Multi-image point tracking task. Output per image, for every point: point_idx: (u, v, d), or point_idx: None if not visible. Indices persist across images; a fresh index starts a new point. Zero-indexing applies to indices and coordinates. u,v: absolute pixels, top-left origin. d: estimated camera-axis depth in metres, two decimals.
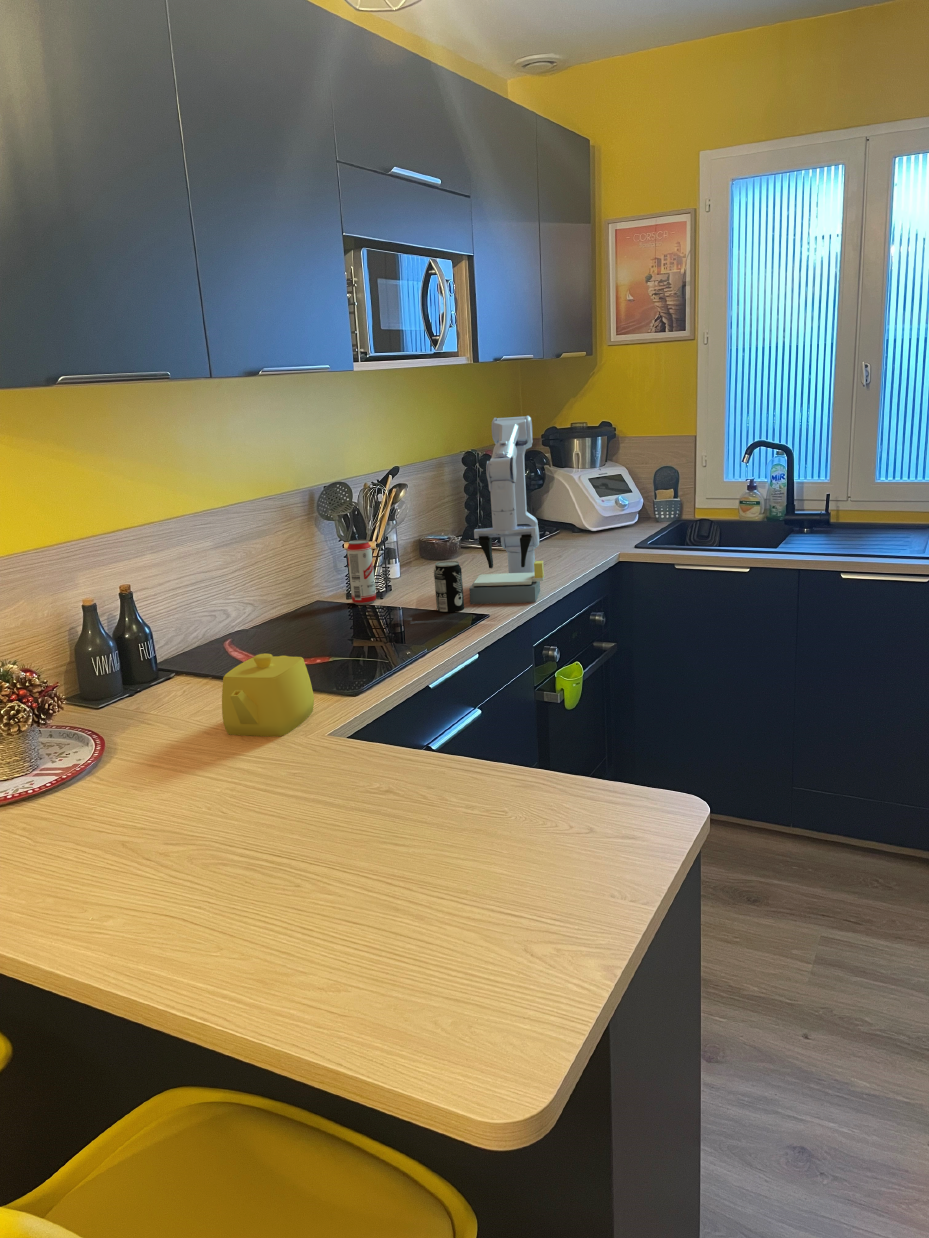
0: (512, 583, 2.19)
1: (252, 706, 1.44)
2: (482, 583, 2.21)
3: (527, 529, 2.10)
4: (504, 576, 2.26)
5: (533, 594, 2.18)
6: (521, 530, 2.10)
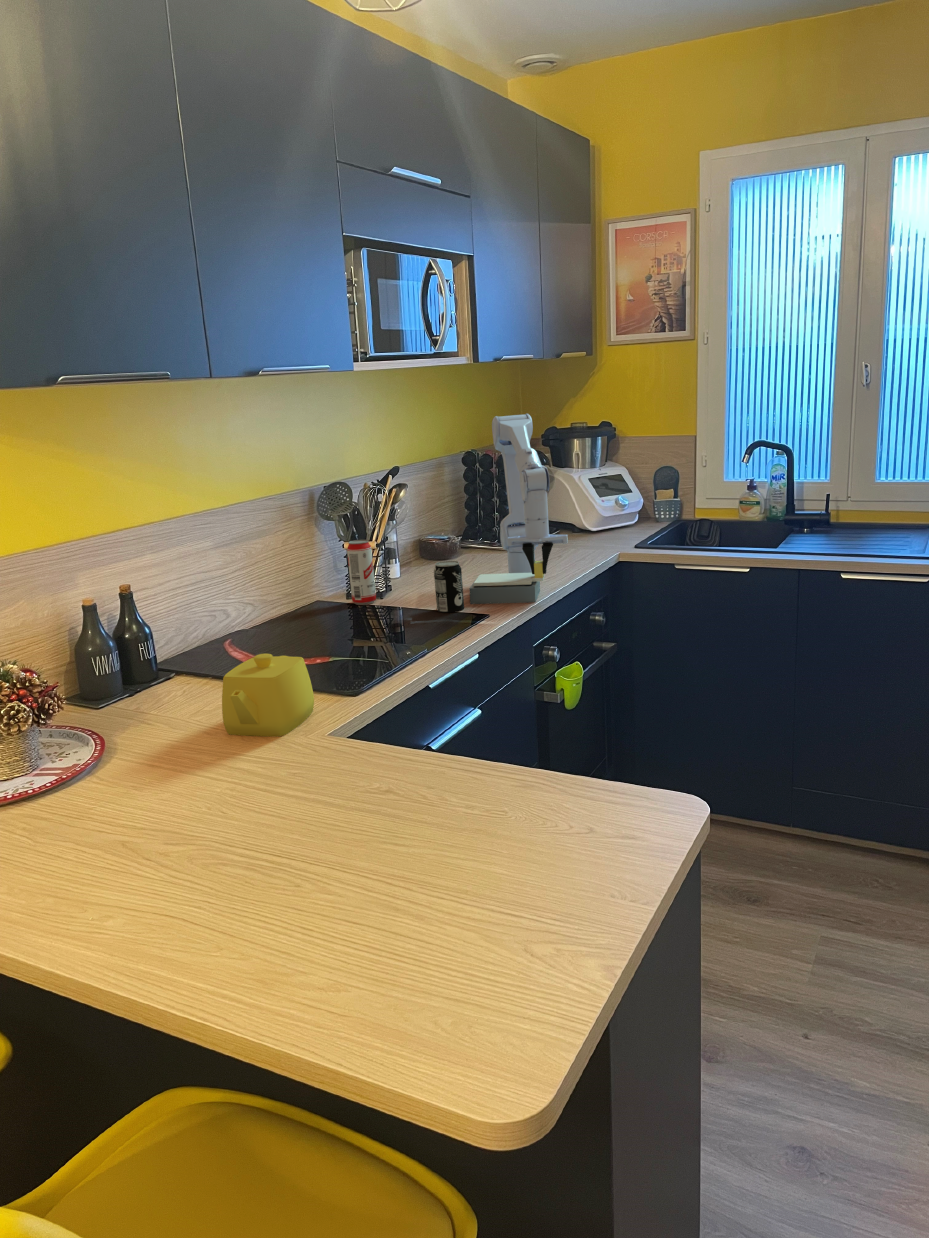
0: (512, 583, 2.19)
1: (252, 706, 1.44)
2: (482, 583, 2.21)
3: (559, 537, 2.18)
4: (504, 576, 2.26)
5: (533, 594, 2.18)
6: (553, 538, 2.18)
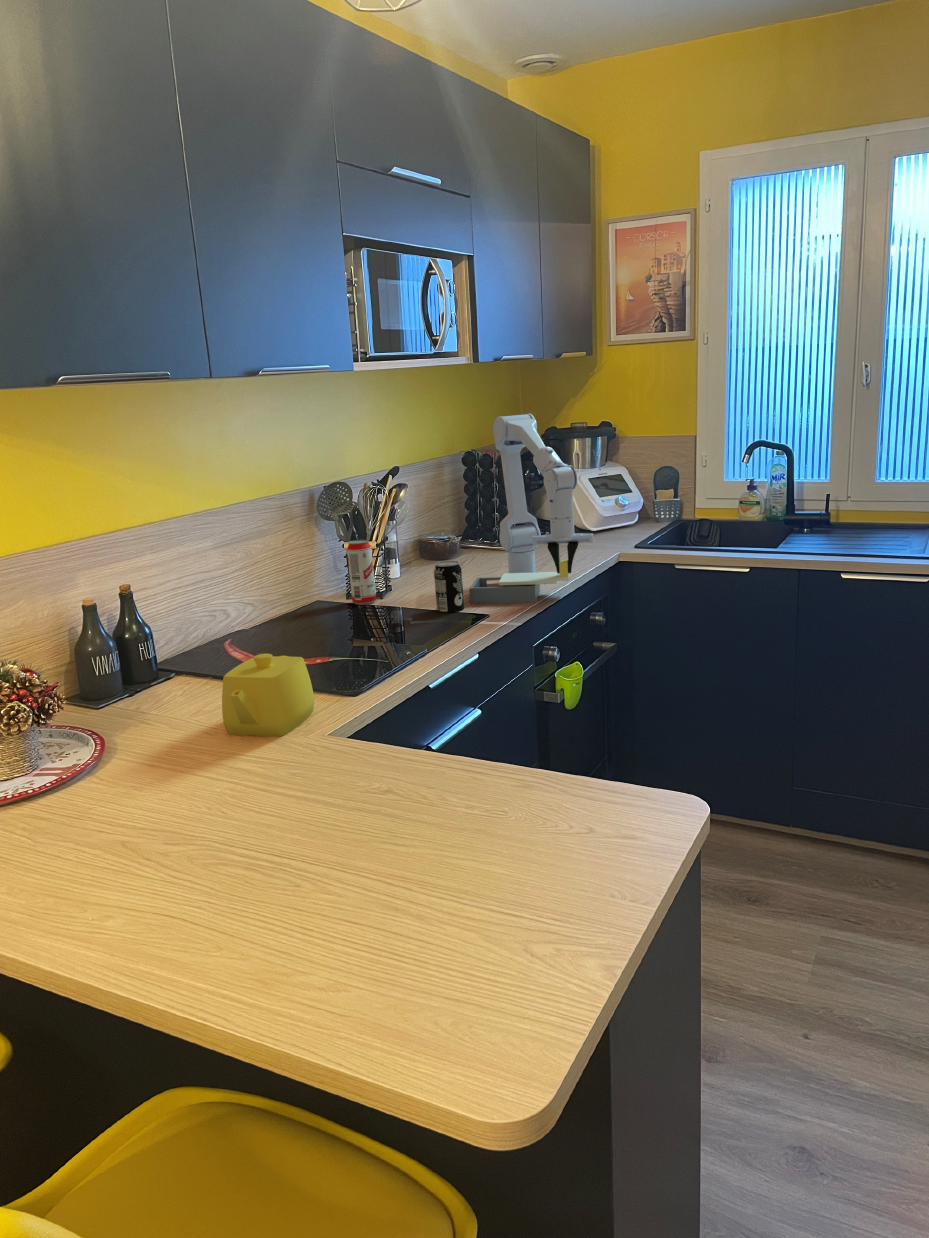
0: (537, 582, 2.18)
1: (252, 706, 1.44)
2: (507, 582, 2.20)
3: (585, 536, 2.17)
4: (528, 575, 2.25)
5: (533, 594, 2.18)
6: (579, 537, 2.17)
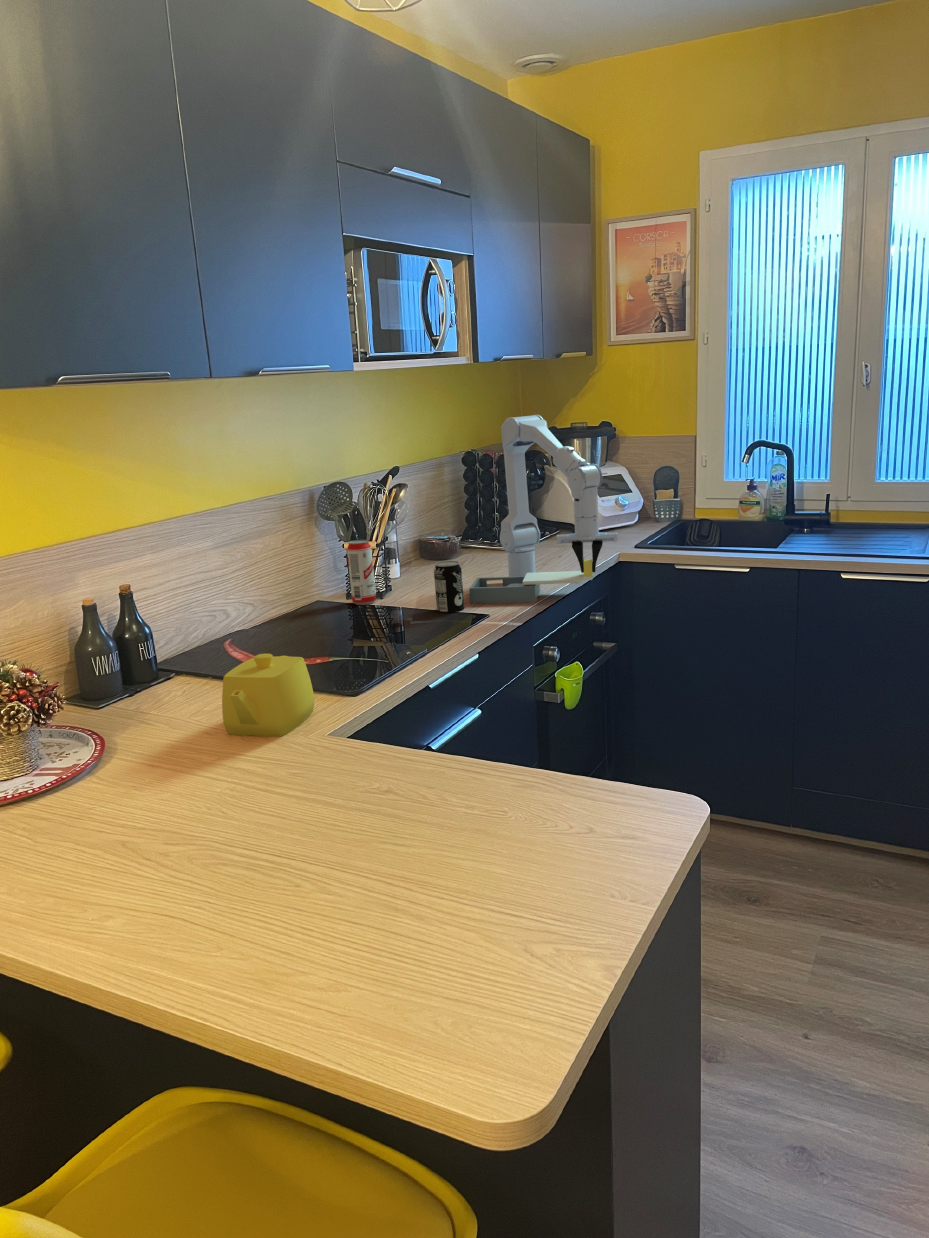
0: (562, 581, 2.17)
1: (252, 706, 1.44)
2: (531, 581, 2.18)
3: (609, 535, 2.16)
4: (552, 574, 2.23)
5: (533, 594, 2.18)
6: (603, 536, 2.16)
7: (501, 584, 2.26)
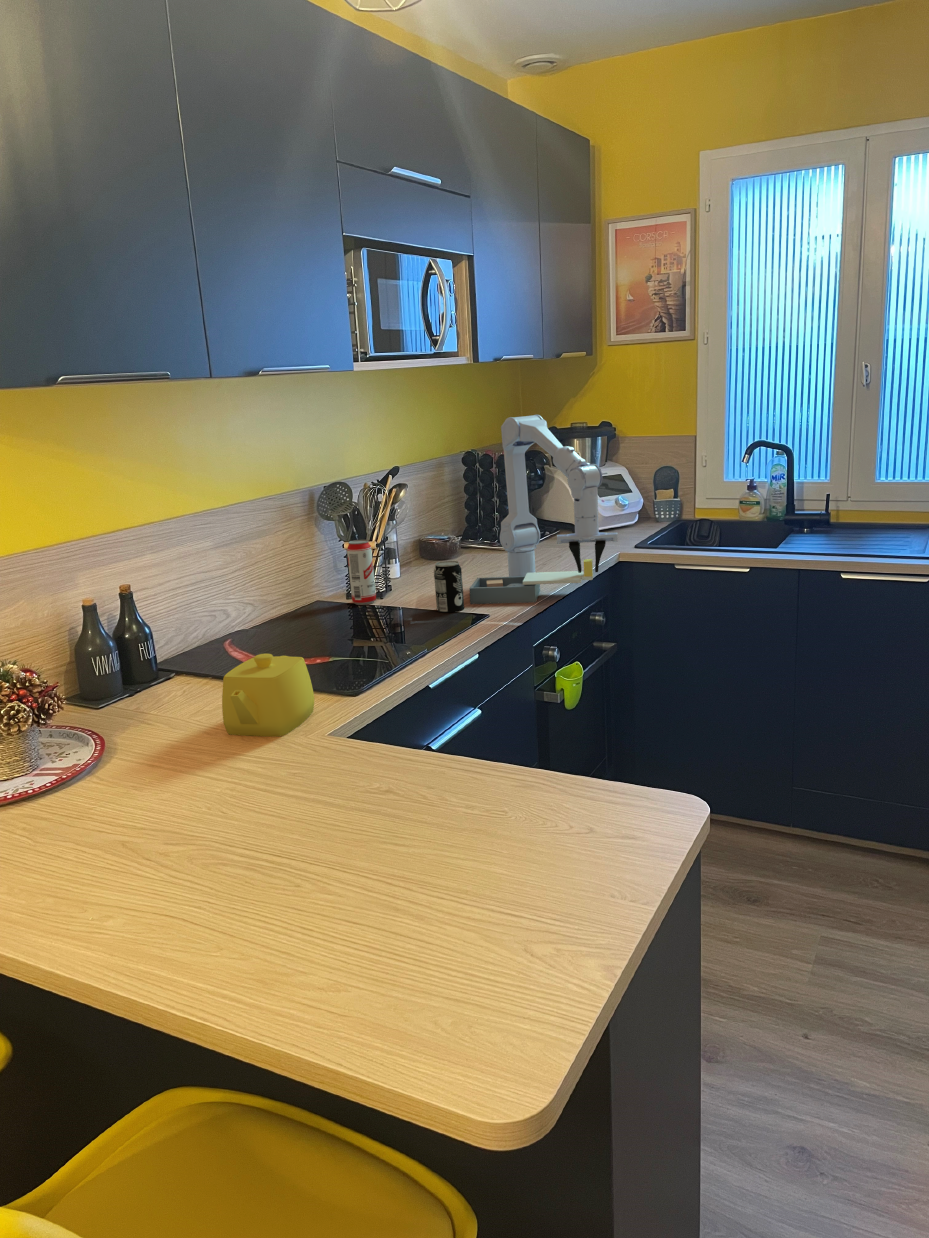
0: (562, 581, 2.17)
1: (252, 706, 1.44)
2: (531, 581, 2.18)
3: (609, 535, 2.16)
4: (552, 574, 2.23)
5: (533, 594, 2.18)
6: (604, 536, 2.16)
7: (501, 584, 2.26)
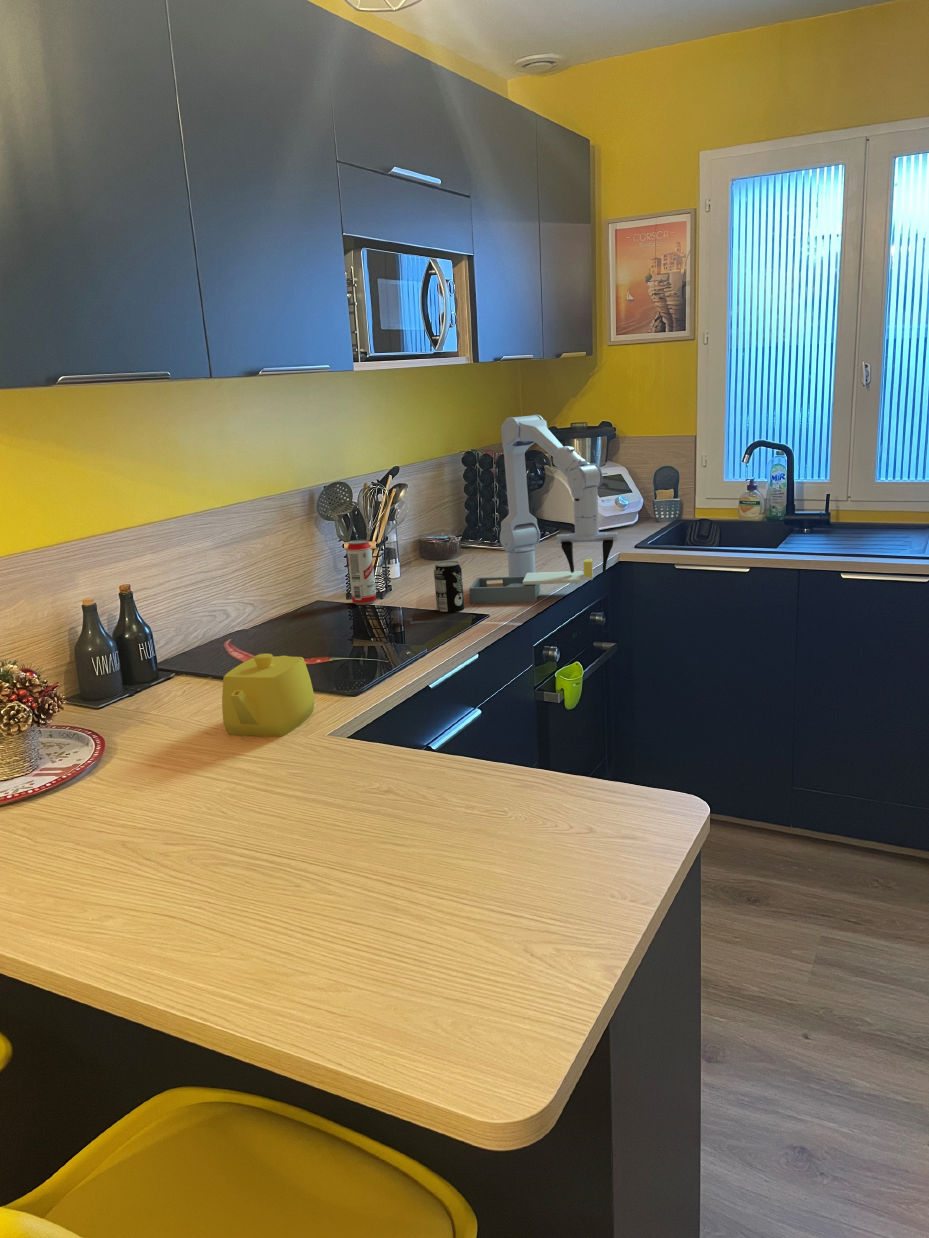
0: (562, 581, 2.17)
1: (252, 706, 1.44)
2: (531, 581, 2.18)
3: (609, 535, 2.16)
4: (552, 574, 2.23)
5: (533, 594, 2.18)
6: (603, 536, 2.16)
7: (501, 584, 2.26)
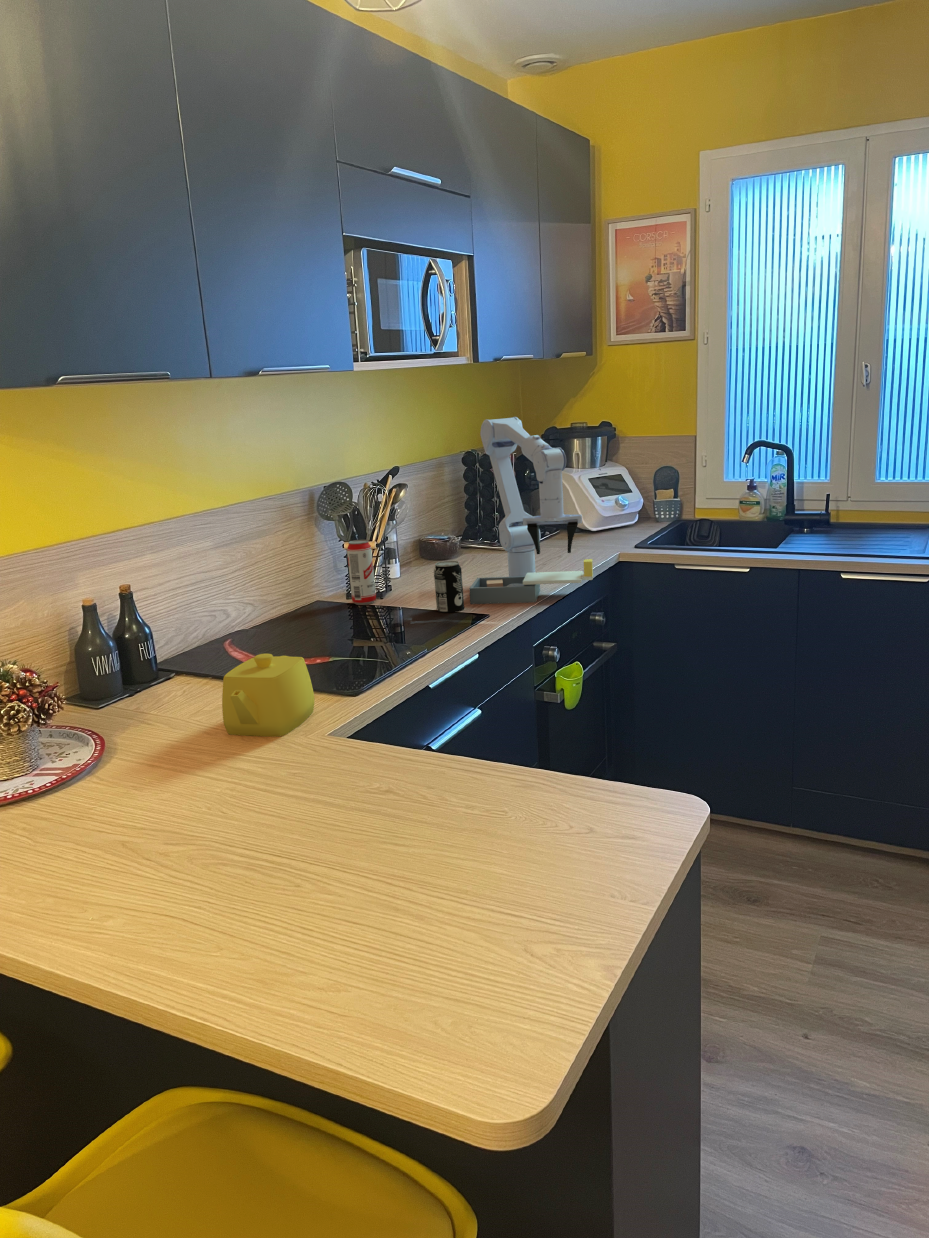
0: (562, 581, 2.17)
1: (252, 706, 1.44)
2: (531, 581, 2.18)
3: (574, 517, 2.21)
4: (552, 574, 2.23)
5: (533, 594, 2.18)
6: (568, 518, 2.21)
7: (501, 584, 2.26)
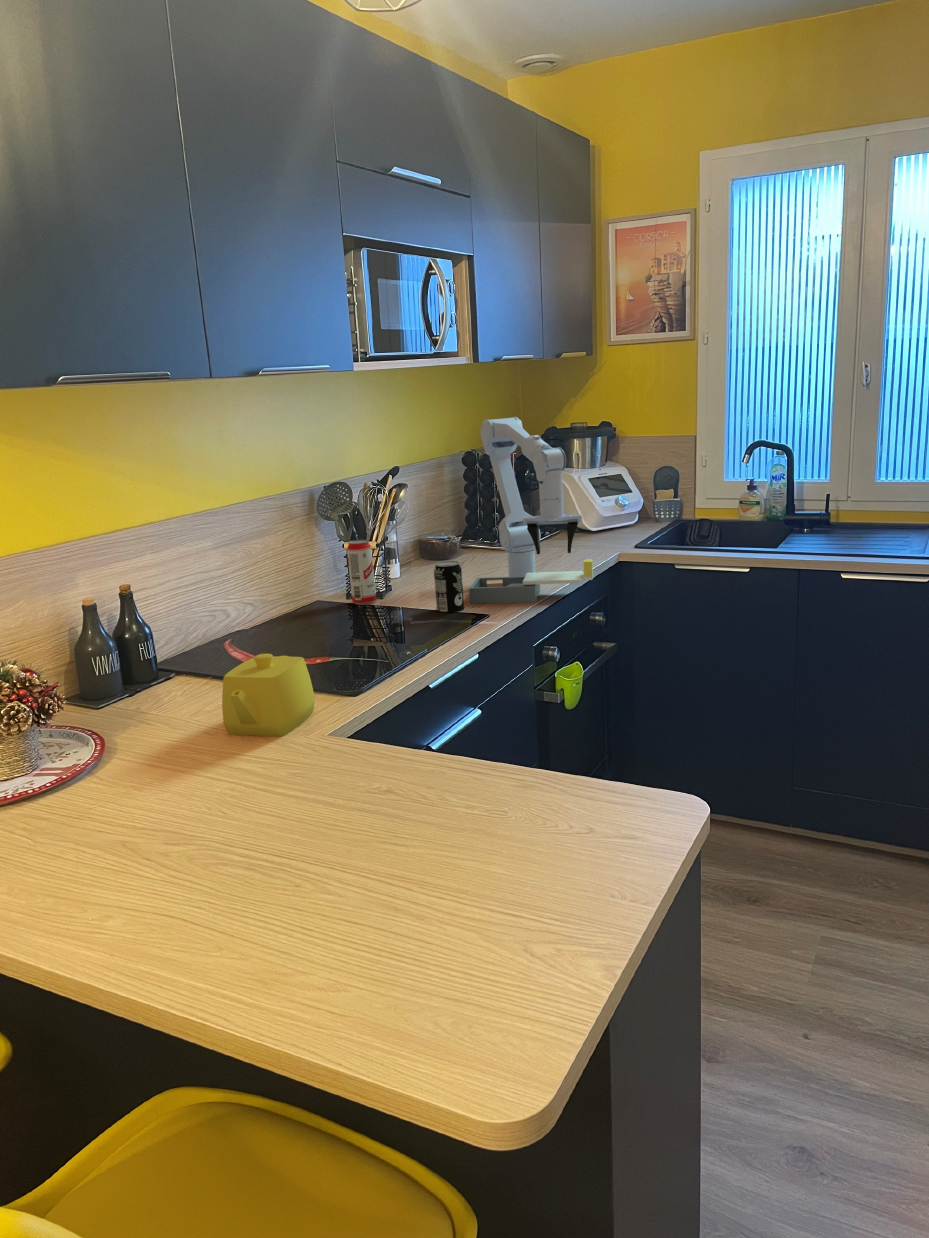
0: (562, 581, 2.17)
1: (252, 706, 1.44)
2: (531, 581, 2.18)
3: (574, 517, 2.21)
4: (552, 574, 2.23)
5: (533, 594, 2.18)
6: (568, 518, 2.21)
7: (501, 584, 2.26)
